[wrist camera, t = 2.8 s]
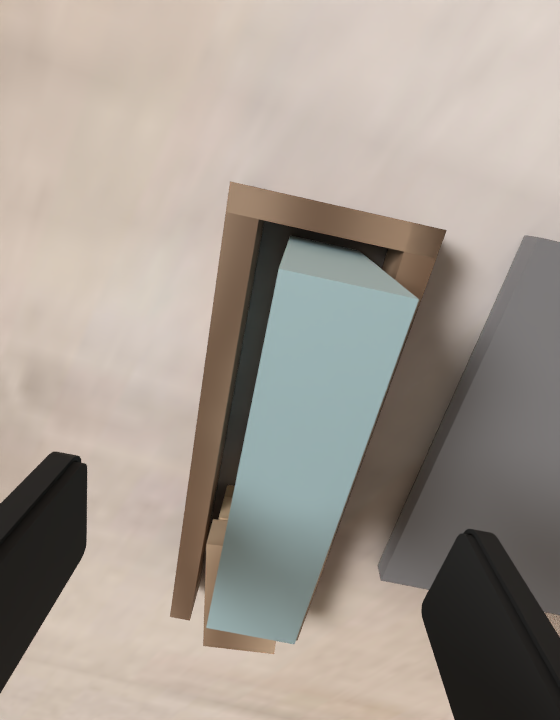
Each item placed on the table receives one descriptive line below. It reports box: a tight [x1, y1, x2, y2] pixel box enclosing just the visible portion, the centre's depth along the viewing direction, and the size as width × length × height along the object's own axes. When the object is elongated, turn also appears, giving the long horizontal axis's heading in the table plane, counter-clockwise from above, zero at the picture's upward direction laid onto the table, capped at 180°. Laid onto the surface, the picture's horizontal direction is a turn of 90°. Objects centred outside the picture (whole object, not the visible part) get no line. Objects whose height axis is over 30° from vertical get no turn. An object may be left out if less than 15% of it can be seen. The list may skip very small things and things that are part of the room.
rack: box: [170, 182, 446, 640], centre depth 19 cm, size 8×24×2 cm, turn 168°
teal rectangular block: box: [206, 235, 419, 644], centre depth 14 cm, size 3×12×9 cm, turn 168°
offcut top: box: [203, 519, 276, 654], centre depth 20 cm, size 4×8×2 cm, turn 174°
